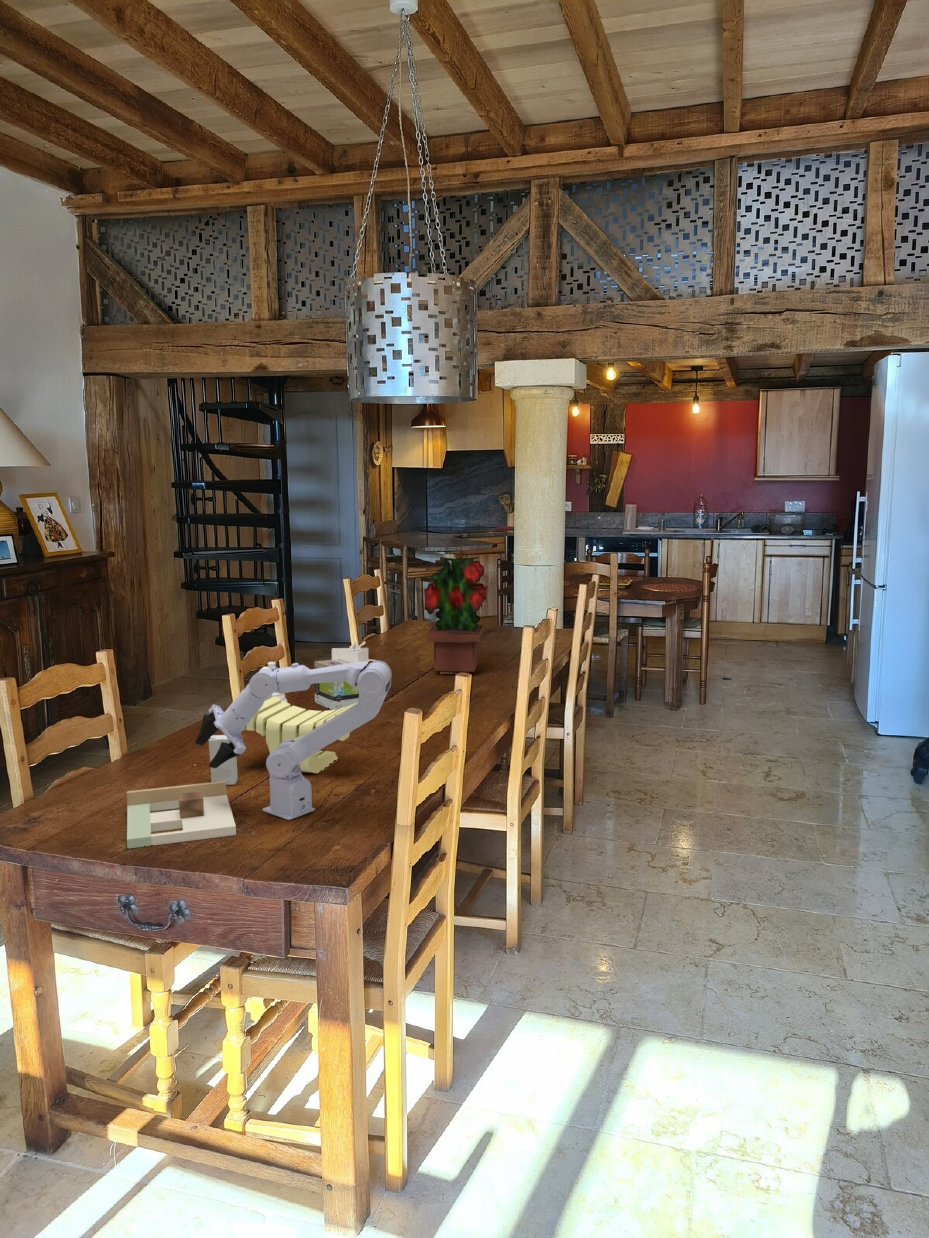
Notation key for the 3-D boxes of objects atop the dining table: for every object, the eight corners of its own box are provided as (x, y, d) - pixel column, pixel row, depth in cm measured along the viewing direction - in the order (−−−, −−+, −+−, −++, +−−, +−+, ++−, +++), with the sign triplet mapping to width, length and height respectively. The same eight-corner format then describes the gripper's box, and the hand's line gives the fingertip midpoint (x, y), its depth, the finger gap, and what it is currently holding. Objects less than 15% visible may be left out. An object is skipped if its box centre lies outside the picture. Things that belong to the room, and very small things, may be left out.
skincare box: (238, 779, 231) (236, 733, 229) (235, 785, 227) (233, 738, 225) (213, 780, 231) (211, 734, 229) (210, 786, 226) (208, 739, 224)
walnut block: (202, 808, 206) (201, 791, 205) (204, 815, 201) (203, 798, 200) (179, 810, 204) (178, 793, 203) (180, 818, 199) (179, 801, 199)
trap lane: (226, 800, 216) (225, 780, 215) (236, 834, 195) (235, 812, 195) (127, 812, 208) (126, 791, 208) (127, 848, 188) (126, 825, 187)
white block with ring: (392, 663, 378) (391, 636, 376) (369, 675, 354) (369, 647, 352) (337, 660, 384) (337, 633, 383) (311, 672, 361) (311, 644, 359)
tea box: (360, 708, 303) (360, 664, 301) (333, 712, 298) (332, 668, 295) (340, 699, 316) (339, 657, 313) (314, 703, 310) (313, 660, 308)
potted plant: (486, 666, 370) (486, 556, 363) (481, 678, 348) (482, 561, 341) (432, 665, 372) (431, 556, 365) (424, 677, 350) (424, 561, 343)
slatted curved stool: (238, 769, 239) (235, 703, 236) (267, 752, 254) (265, 690, 252) (343, 780, 231) (342, 712, 228) (367, 761, 246) (366, 697, 243)
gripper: (214, 687, 208) (179, 731, 210) (242, 730, 200) (205, 775, 202) (236, 693, 213) (202, 735, 216) (264, 735, 205) (228, 778, 208)
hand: (205, 755), depth 209 cm, fingers open, 7 cm apart
